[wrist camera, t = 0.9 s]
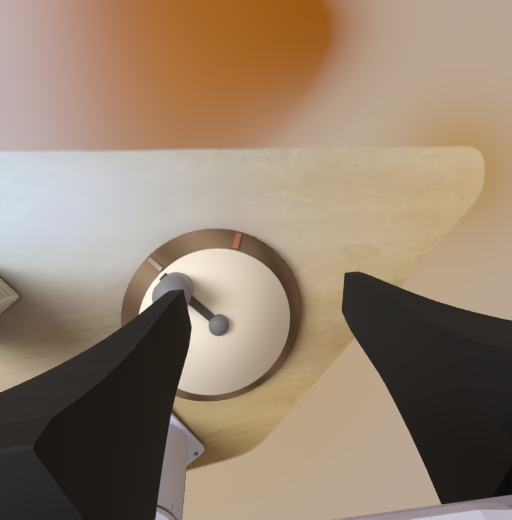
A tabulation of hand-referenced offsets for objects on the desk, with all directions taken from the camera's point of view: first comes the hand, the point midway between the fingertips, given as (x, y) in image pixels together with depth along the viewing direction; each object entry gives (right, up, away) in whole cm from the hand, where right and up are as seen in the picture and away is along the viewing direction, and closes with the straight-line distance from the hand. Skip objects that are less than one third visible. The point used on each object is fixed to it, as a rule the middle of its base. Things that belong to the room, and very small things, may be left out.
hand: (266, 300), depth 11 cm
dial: (-4, -4, +15) cm, 16 cm away
